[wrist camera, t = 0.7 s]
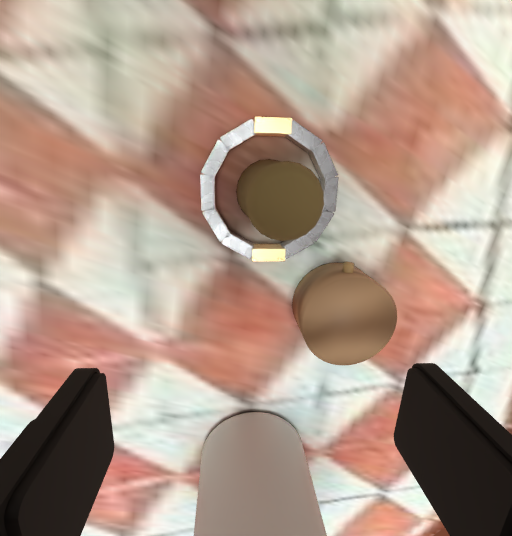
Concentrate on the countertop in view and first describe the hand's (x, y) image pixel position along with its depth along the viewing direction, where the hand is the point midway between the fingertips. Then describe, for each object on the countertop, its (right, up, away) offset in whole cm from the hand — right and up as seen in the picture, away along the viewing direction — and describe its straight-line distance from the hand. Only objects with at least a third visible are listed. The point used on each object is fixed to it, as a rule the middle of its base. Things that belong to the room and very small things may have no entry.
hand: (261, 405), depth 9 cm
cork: (+1, +11, +20) cm, 23 cm away
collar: (+1, +11, +20) cm, 23 cm away
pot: (+8, 0, +24) cm, 25 cm away
